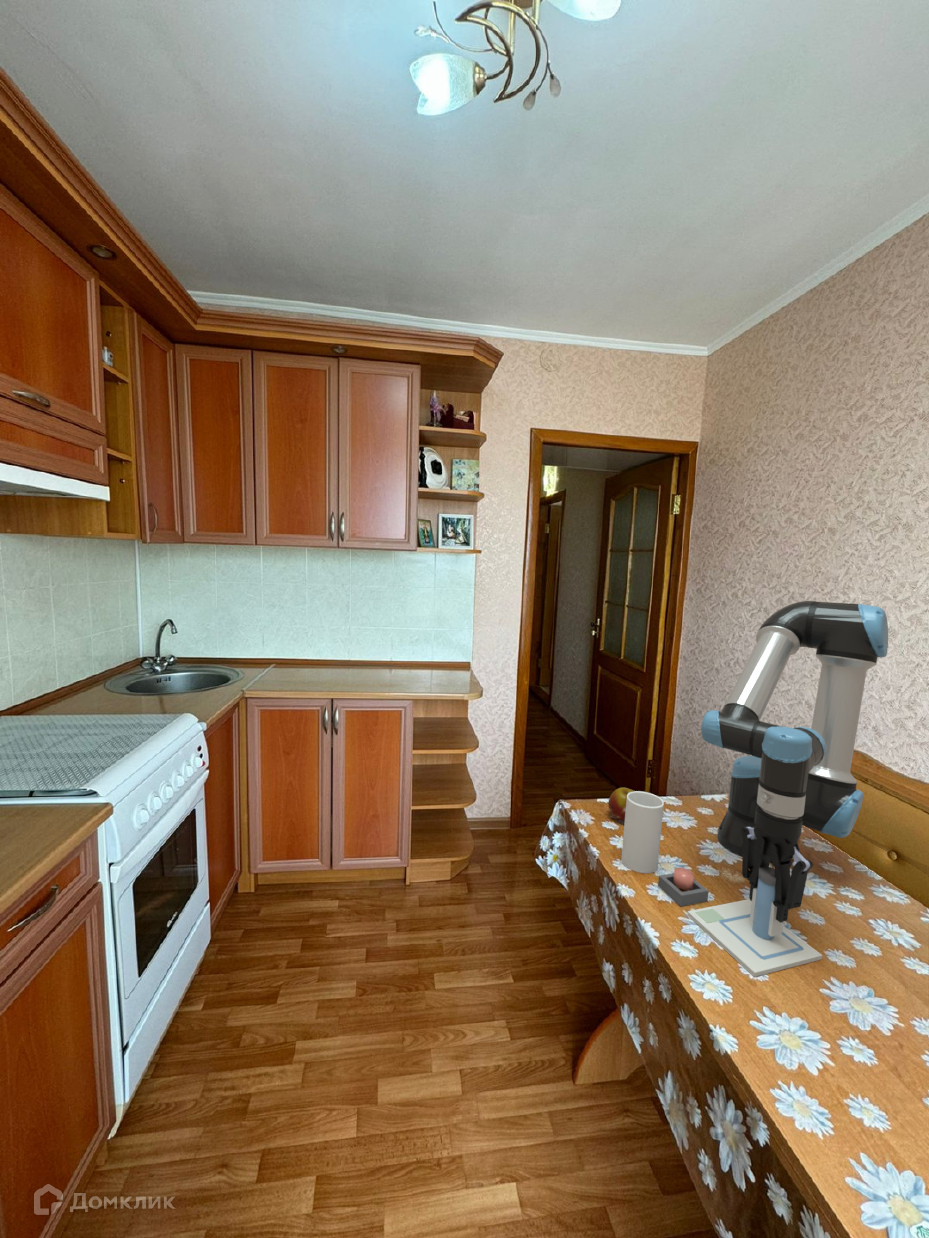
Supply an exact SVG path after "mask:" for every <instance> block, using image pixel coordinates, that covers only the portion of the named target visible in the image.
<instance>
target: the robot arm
mask: <svg viewBox="0 0 929 1238" xmlns="http://www.w3.org/2000/svg"><path fill="white" fill-rule="evenodd" d="M887 617H888V616H887V614H886V611H885V610H884V609H883V608H882V607H879V606H877V605H876V606H875V605H869V604H862V603H843V602H832V601H831V602H830V601H829V602H827V601H815V600H803V601H798V602H797V601H796V602H794V603H791V604H788V605H786V606H783V607H782V608H780V609H778V610H777V611H776V612H774V613H773V614H772V615H770V616H769V617H768V618H767V619H765V620H764V622H763V623H762V624H761V626H760V627H759V629H758V631H757V632H756V635H755V641H756V644H755V646H754V648H753V650H752V652H751V654H750V656H749V658H748V660H747V662H746V663H745V665H744V667H743V669H742V671H741V673H740V675H739V676H738V679H737V680H736V682H735V685H734V686H733V687H732V690H731V692H730V694H729V696H728V697H727V699H726V701H725V703H724V705H723V708H722V709H721V710H713V709H711V710H708V711H707V712H705V714H704V715H703V718H702V722H701V727H700V733H701V738H702V739H703V741H704V742H705V743H707V744H711V745H713V746H716V747H718V748H721V749H726V750H730V751H733V752H738V753H741V754H744V755H745V756H740V757H738V758H736V759H735V760H734V762H733V765H732V770H731V773H730V785H729V786H730V787H729V794H728V804H727V811H726V813H725V815H724V817H723V818H722V821H721V822H720V824H719V826H718V829H717V836H716V837H717V841H718V842H719V843H720V845H722V847H724V848H726V850H728V851H730V852H731V853H734V854H735V855H738V856H740V857H742V860H741V861H742V867H741V875H742V877H743V878H744V879H747V881H748V882H749V883H748V884H749V886H750V888H749V896H748V897H749V898H748V899H749V900H750V901H752V904H751V913H750V920H751V921H752V922H753V920H754V912H755V904H756V895H757V887H758V879H759V877H758V874H759V868H760V867H765V866H767V867H770V866H772V868H773V867H774V869H775V878H776V884H775V895H776V901H773V902H772V905H771V913H770V921H769V929H768V935H770V936H771V937H772V936H776V935H780V934H782V928H783V926H784V923H785V922H787V921H788V916H789V910H792V909H797V908H798V909H799V908H801V906H802V902H803V897H804V892H805V887H806V884H807V878H808V875H809V872H810V870H811V869H812V868H813V866H814V863H813V860H811V859H806V858H805V857H804V856H803V855H802V854H801V853H800V847H799V840H800V838H801V836H802V829H803V827H807V828H809V829H812V830H815V831H817V832H820V833H821V834H827V835H829V836H833V837H836V838H841V839H844V838H846V837H848V836H849V835H850V834H851V832H852V830H853V829H854V826H855V824H856V822H857V820H858V817H859V814H860V811H861V809H862V805H863V800H864V798H865V797H864V796H865V794H864V792H863V791H861V790H860V789H857V784H858V781H857V779H856V777H854V775H852V772H851V768H852V763H853V756H854V750H855V743H856V738H857V732H858V727H859V719H860V714H861V709H862V708H861V707H862V702H863V695H864V689H865V683H866V677H867V672H868V670H870V669H872V668H873V667H875V666H877V663H878V658H879V659H881V658H885V657H887V656H888V648H889V626H888V618H887ZM800 648H810V649H815V650H816V651H815V657H816V659H817V660H819V662H820V663H821V666H820V667H821V668H820V675H819V680H818V686H817V693H816V698H815V703H814V711H813V714H812V715H813V716H812V723H811V728H810V727H808V726H807V727H806V726H798V727H797V726H796V727H788V726H783V725H778V724H773V723H771V722H770V723H769V722H767V721H766V722H765V721H762V720H761V718H762V716H763V714H764V711H765V710H766V708H767V705H768V703H769V702H770V699H771V698H772V695H773V693H774V691H775V689H776V686H777V685H778V683H779V680H780V678H781V676H782V674H783V672H784V670H785V668H786V666H787V663H788V661H789V659H790V657H791V656H793V655H795V654H796V653H798V651H799V649H800ZM792 860H793V861H792ZM771 864H772V865H771ZM792 866H793V867H792ZM791 868H792V870H791Z"/></svg>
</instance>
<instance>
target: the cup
mask: <svg viewBox="0 0 929 1238" xmlns="http://www.w3.org/2000/svg"><path fill="white" fill-rule="evenodd" d="M633 791H634V792H630V793H628V794H627V801H626V812H625V821H624V824H623V825H624V827H623V833H622V834H623V835H622V837H623V838H622V847H621V848H622V849H621V858H620V859H621V862H622V864H623V865H624V867H626V868H627V869H629V870H631V871H632V872H633V871H634V872H636V873H641V874H653V873H655V872H656V871H658V868H659V857H660V849H661V848H660V847H661V836H662V835H661V834H662V828H663V816H664V807H665V806H664V803H665V802H664V800H663V799H662V798H661V797H659V795H655V794H653V793H651V792H647V791H641V790H638V791H637V790H636V791H635V790H633Z"/></svg>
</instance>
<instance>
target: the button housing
mask: <svg viewBox="0 0 929 1238" xmlns="http://www.w3.org/2000/svg"><path fill="white" fill-rule="evenodd" d="M673 878H674V872H673V873H672V872H671V873H667V874H660V875H658V882H657V887H659V888H660V889H661V890H662V891H663V892H664V893H665V894H666V895H667V896H668V897H669V898H670V899H672V900H673V901H674V902H675V903H676V904H677V905H678V906H679V907H684V906H689V905H695V904H701V903H705V902H708V901H709V900H708V899H709V890H708V889H707V888H706V887H705V886H703V885H702V884H701V883H700V882H698V881H697V880H696V879H695V878H694V884H693V888H692V889H691V890H685V891H681V890H680V888H679V887H677V886H676V885H675V884H674V883H673Z"/></svg>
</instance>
